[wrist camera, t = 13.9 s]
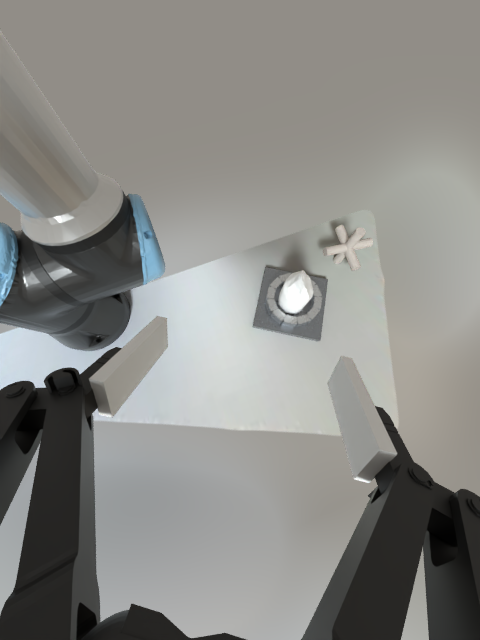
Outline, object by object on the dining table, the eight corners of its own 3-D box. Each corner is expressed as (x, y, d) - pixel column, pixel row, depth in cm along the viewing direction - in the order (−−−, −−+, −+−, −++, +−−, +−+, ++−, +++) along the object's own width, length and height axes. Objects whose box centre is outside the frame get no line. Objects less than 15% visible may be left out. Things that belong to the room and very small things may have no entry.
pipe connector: (310, 246, 50) (326, 215, 40) (349, 238, 50) (375, 205, 41) (323, 283, 47) (344, 259, 38) (365, 274, 48) (396, 248, 38)
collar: (252, 327, 45) (253, 322, 41) (265, 269, 48) (266, 261, 45) (318, 341, 44) (325, 338, 40) (325, 281, 47) (332, 273, 44)
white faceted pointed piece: (329, 289, 33) (295, 296, 32) (306, 312, 44) (281, 318, 44) (317, 256, 34) (284, 263, 34) (298, 286, 46) (273, 292, 46)
